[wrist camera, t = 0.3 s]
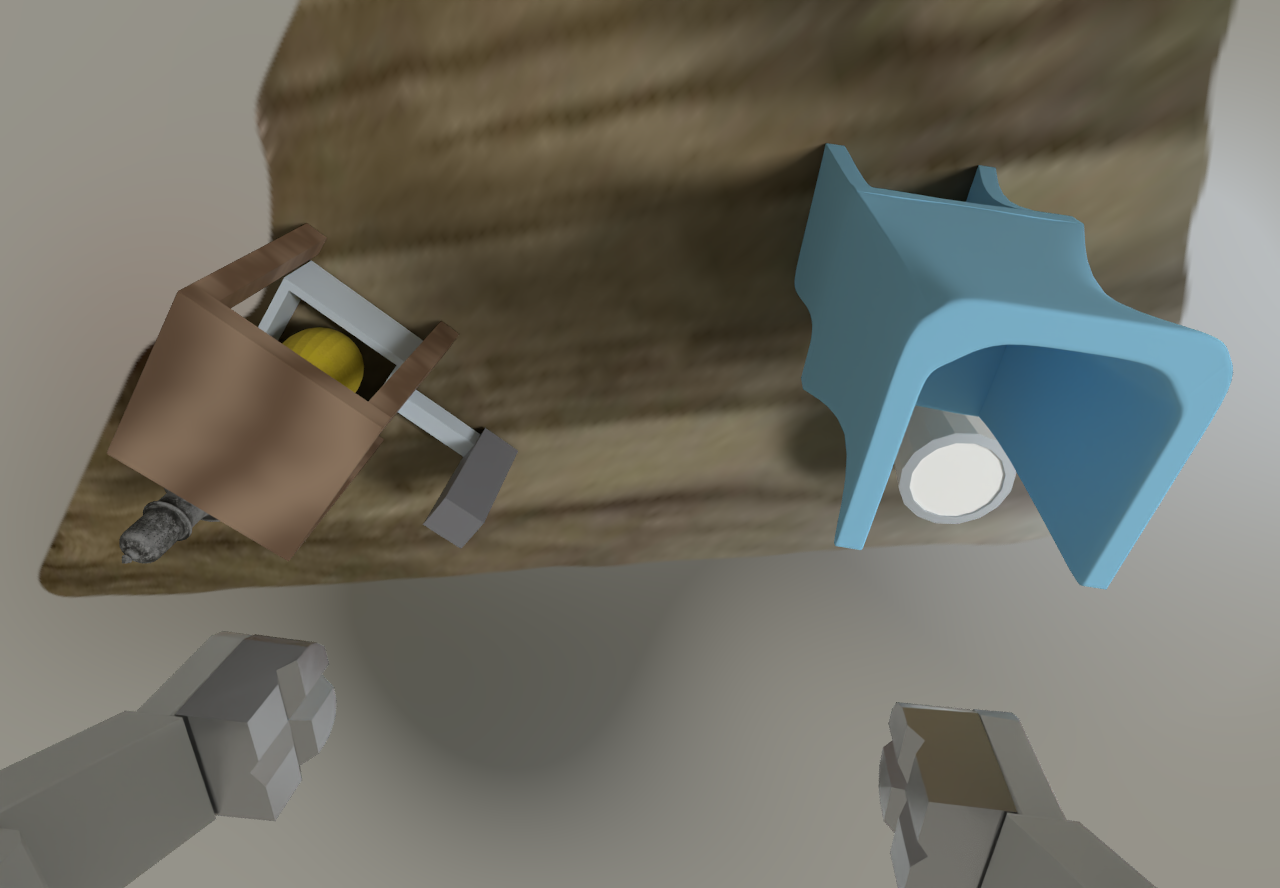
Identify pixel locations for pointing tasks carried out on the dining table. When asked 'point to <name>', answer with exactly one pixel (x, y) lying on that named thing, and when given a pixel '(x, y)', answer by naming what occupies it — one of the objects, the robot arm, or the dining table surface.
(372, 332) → the slider
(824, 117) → the dining table surface
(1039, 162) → the dining table surface
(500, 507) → the dining table surface
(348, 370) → the lemon
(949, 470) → the grey white cylinder
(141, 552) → the gray stone ornament
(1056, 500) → the blue angular vessel
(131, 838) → the robot arm
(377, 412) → the tunnel
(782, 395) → the dining table surface
